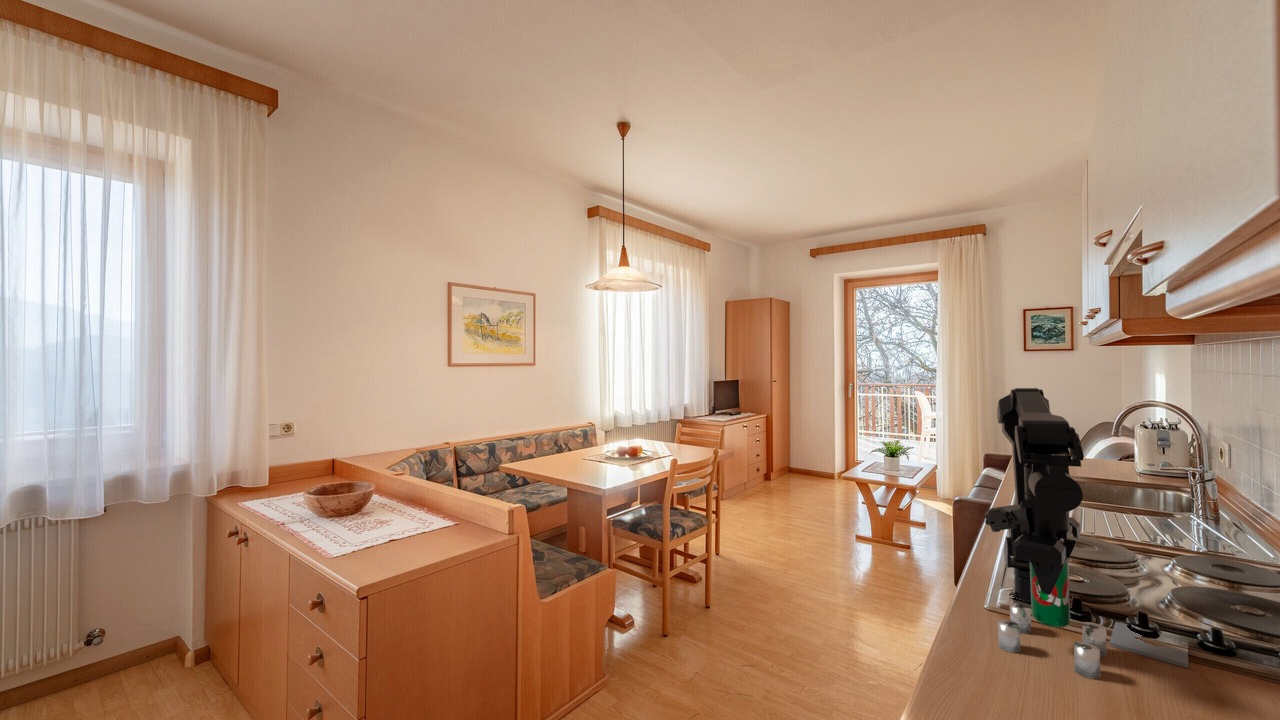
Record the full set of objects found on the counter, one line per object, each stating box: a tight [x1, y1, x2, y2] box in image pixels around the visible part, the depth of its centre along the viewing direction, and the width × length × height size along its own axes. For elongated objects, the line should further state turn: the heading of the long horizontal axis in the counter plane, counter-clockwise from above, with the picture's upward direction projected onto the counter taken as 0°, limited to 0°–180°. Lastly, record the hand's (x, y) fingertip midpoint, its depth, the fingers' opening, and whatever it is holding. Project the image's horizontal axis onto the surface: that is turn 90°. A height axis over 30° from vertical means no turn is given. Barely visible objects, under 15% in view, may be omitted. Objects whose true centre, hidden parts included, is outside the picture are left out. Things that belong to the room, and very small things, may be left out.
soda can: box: [1030, 559, 1071, 629], centre depth 86 cm, size 5×5×12 cm
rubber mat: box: [1108, 621, 1190, 669], centre depth 86 cm, size 9×9×1 cm
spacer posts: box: [997, 602, 1108, 680], centre depth 86 cm, size 11×13×4 cm
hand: (1049, 588), depth 86 cm, fingers closed on soda can, 5 cm apart
